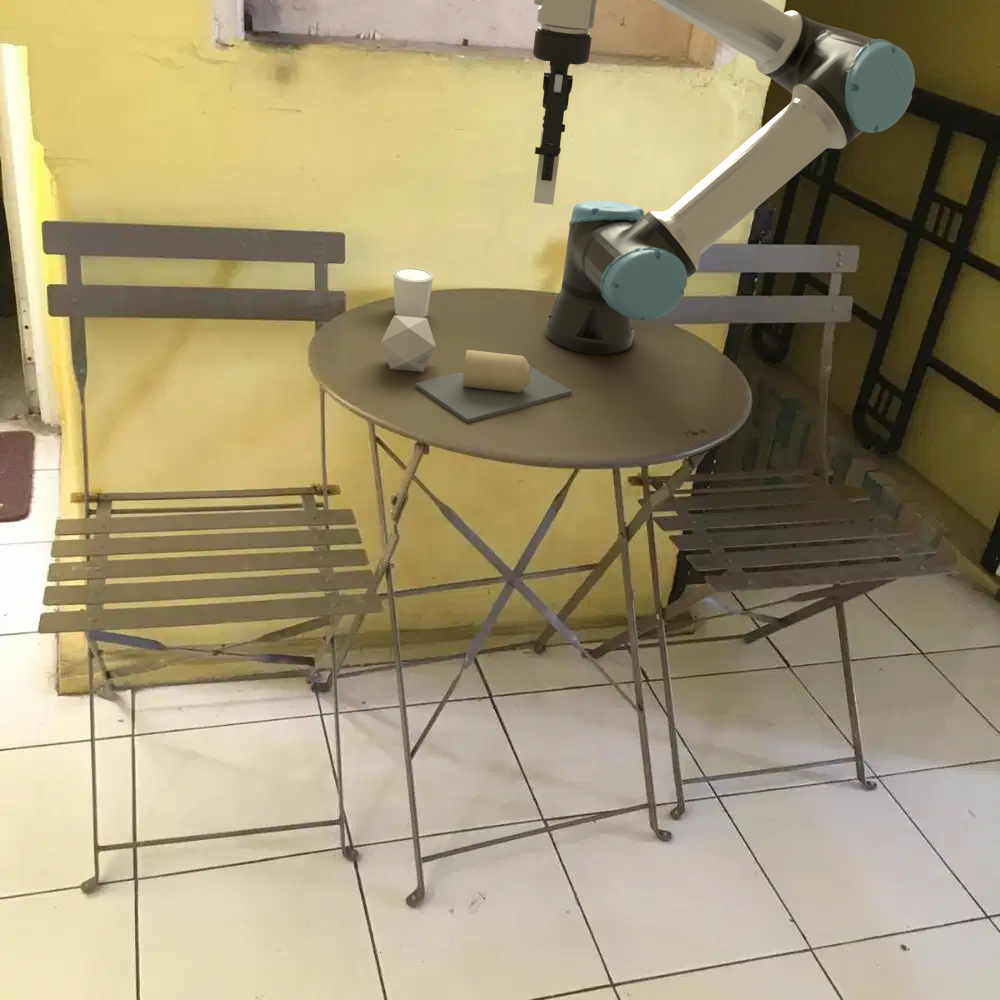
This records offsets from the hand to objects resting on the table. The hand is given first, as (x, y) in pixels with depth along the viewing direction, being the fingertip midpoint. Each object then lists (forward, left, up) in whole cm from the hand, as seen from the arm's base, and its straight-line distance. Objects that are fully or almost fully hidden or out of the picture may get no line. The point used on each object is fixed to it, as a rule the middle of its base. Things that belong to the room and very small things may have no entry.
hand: (544, 190), depth 146 cm
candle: (+12, 0, -25) cm, 28 cm away
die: (+15, -10, -29) cm, 34 cm away
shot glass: (+2, -28, -29) cm, 40 cm away
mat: (+8, +3, -29) cm, 30 cm away
